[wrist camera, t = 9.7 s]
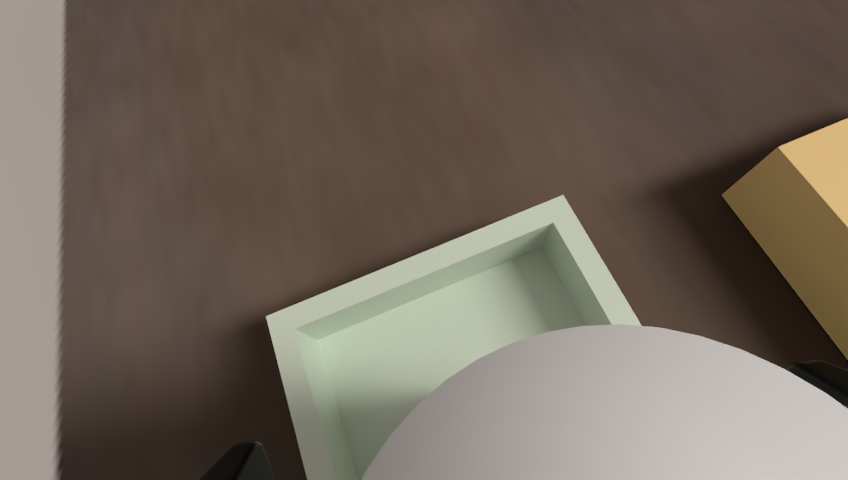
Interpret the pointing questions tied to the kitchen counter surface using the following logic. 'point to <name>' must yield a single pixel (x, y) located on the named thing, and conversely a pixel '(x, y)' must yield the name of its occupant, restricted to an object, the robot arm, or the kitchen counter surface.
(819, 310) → the tan square frame
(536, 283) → the parts tray
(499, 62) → the kitchen counter surface
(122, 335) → the kitchen counter surface
